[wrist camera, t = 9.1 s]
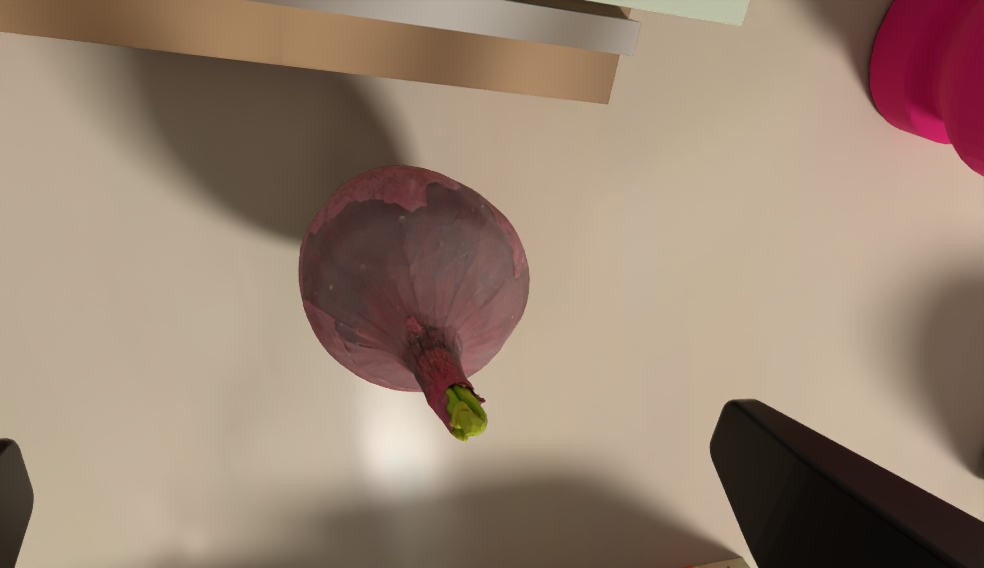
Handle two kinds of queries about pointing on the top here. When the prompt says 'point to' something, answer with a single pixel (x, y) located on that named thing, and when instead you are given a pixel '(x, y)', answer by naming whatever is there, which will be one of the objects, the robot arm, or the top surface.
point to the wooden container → (368, 37)
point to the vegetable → (414, 286)
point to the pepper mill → (933, 73)
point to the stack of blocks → (725, 564)
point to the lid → (691, 8)
